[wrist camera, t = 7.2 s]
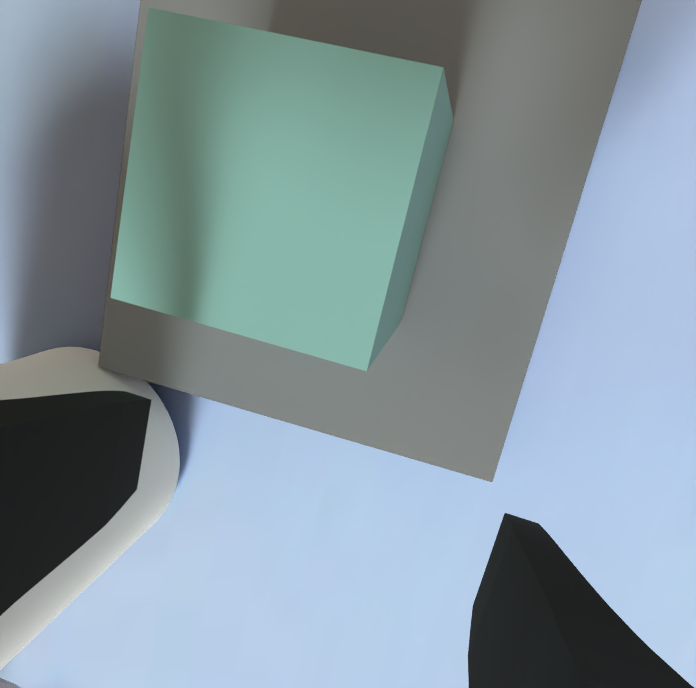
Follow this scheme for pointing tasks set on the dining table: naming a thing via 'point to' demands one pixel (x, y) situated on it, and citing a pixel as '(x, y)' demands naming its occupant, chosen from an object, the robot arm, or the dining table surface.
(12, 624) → the beverage can
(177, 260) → the teal block
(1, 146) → the dining table surface
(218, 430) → the dining table surface
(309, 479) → the dining table surface
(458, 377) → the slate base
